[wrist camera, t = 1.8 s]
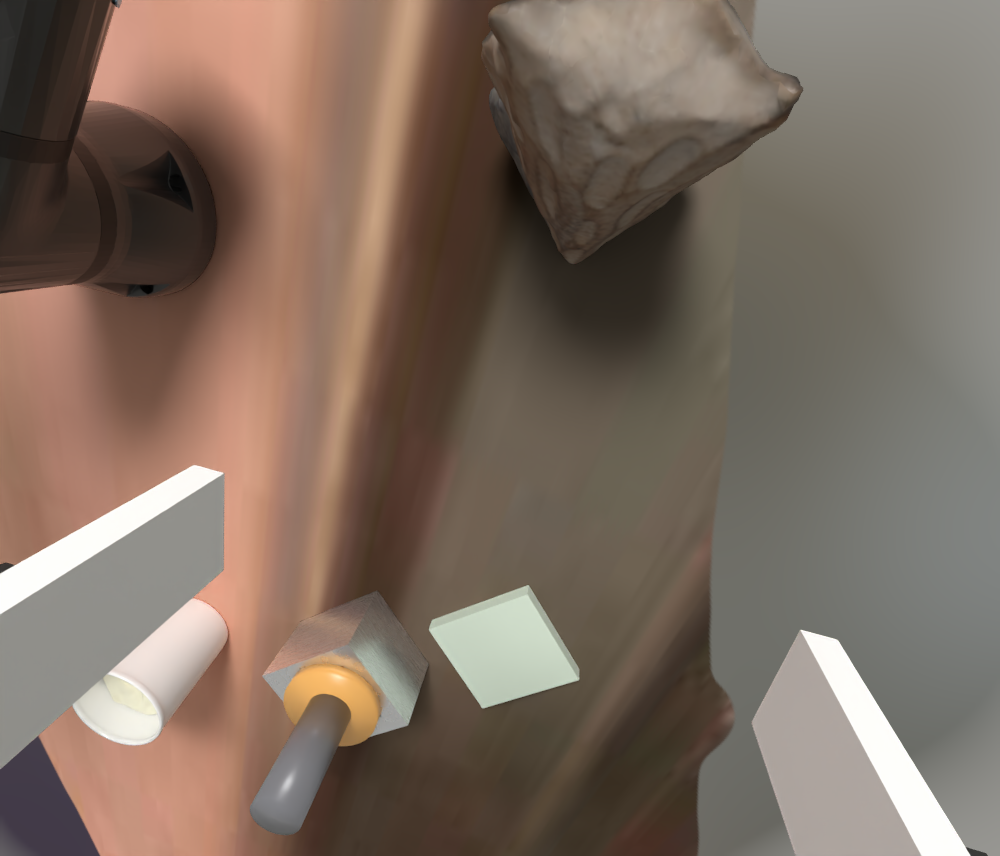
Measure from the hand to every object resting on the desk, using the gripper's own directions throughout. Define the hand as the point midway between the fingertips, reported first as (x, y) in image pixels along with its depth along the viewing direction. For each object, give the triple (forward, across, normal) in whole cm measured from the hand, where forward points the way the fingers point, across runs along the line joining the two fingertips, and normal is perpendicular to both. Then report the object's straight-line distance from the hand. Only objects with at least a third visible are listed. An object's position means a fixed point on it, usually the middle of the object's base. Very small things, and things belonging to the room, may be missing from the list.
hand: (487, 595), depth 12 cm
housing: (+35, -14, -39) cm, 55 cm away
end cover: (+33, -14, -39) cm, 53 cm away
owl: (+35, -1, +12) cm, 37 cm away
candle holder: (+35, -34, -44) cm, 66 cm away
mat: (+36, +2, -34) cm, 50 cm away
